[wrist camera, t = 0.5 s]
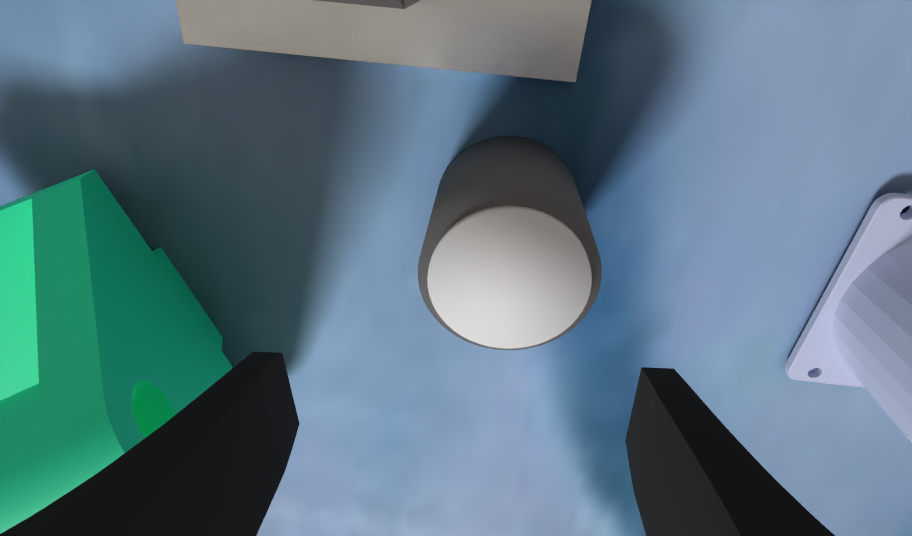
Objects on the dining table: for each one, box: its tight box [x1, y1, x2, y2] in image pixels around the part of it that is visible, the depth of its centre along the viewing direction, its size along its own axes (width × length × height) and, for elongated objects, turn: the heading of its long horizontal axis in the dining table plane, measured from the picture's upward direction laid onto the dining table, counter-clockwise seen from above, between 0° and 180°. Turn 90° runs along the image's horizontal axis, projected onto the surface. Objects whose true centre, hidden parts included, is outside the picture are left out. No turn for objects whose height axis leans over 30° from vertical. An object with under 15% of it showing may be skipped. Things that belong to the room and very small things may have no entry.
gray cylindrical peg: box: [418, 136, 601, 350], centre depth 16 cm, size 5×5×5 cm
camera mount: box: [0, 169, 233, 534], centre depth 17 cm, size 12×8×10 cm, turn 18°
